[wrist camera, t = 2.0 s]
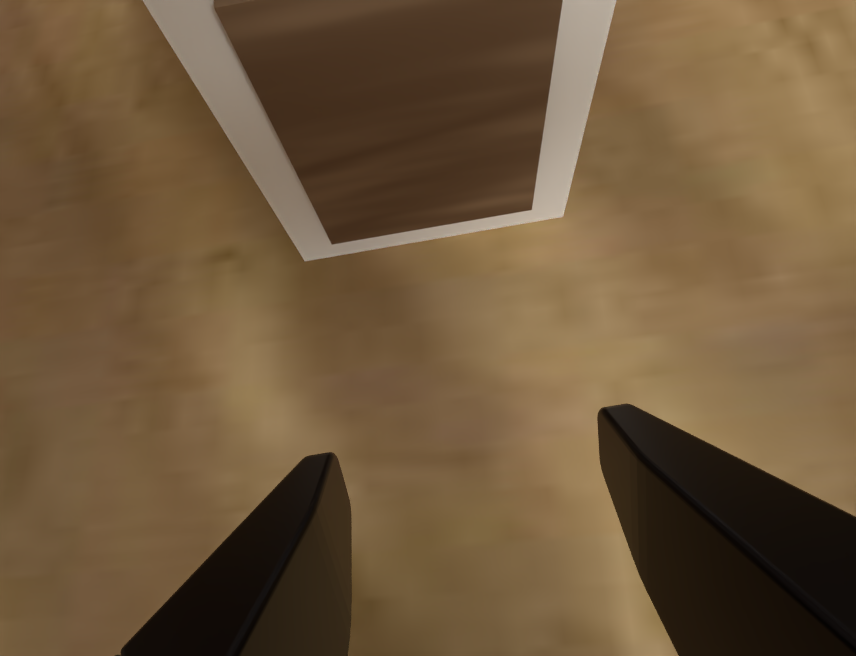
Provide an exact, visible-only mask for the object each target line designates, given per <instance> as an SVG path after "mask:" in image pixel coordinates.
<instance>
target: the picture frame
mask: <svg viewBox="0 0 856 656" xmlns="http://www.w3.org/2000/svg"><path fill="white" fill-rule="evenodd" d="M143 2H144V4H145V5H146V7H147V8H148V10H149V12H150V13H151V15H152V17H153V18H154V20H155V21H156V23H157V25H158V26H159V28H160V29H161V31H162V33H163V34H164V36H165V37H166V39H167V41H168V42H169V44H170V45H171V47H172V49H173V50H174V52H175V54H176V55H177V57H178V58H179V60H180V62H181V63H182V65H183V66H184V68H185V70H186V71H187V73H188V74H189V76H190V78H191V79H192V81H193V82H194V84H195V86H196V87H197V89H198V90H199V92H200V94H201V95H202V97H203V99H204V100H205V102H206V103H207V105H208V107H209V108H210V110H211V111H212V113H213V115H214V116H215V118H216V119H217V121H218V123H219V124H220V126H221V127H222V129H223V131H224V132H225V134H226V135H227V137H228V139H229V140H230V142H231V144H232V145H233V147H234V148H235V150H236V152H237V153H238V155H239V156H240V158H241V160H242V161H243V163H244V164H245V166H246V168H247V169H248V171H249V172H250V174H251V176H252V177H253V179H254V180H255V182H256V184H257V185H258V187H259V189H260V190H261V192H262V193H263V195H264V197H265V198H266V200H267V201H268V203H269V205H270V206H271V208H272V209H273V211H274V213H275V214H276V216H277V217H278V219H279V221H280V222H281V224H282V225H283V227H284V229H285V230H286V232H287V234H288V235H289V237H290V238H291V240H292V242H293V243H294V245H295V246H296V248H297V250H298V251H299V253H300V254H301V256H302V258H303V259H304V261H310V260H316V259H322V258H328V257H333V256H339V255H345V254H351V253H356V252H362V251H368V250H374V249H380V248H385V247H391V246H397V245H403V244H408V243H414V242H420V241H426V240H432V239H437V238H443V237H449V236H455V235H460V234H466V233H472V232H478V231H484V230H489V229H495V228H501V227H507V226H512V225H518V224H524V223H530V222H536V221H541V220H547V219H553V218H559V217H563V215H564V211H565V207H566V203H567V199H568V195H569V190H570V186H571V182H572V178H573V174H574V170H575V166H576V162H577V158H578V154H579V150H580V146H581V142H582V138H583V134H584V130H585V125H586V121H587V117H588V113H589V109H590V105H591V101H592V97H593V93H594V89H595V85H596V81H597V77H598V73H599V69H600V64H601V60H602V56H603V52H604V48H605V44H606V40H607V36H608V32H609V28H610V24H611V20H612V16H613V12H614V8H615V3H616V0H143Z"/></svg>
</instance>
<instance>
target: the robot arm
mask: <svg viewBox="0 0 856 656" xmlns="http://www.w3.org/2000/svg"><path fill="white" fill-rule="evenodd" d="M598 437H599V456H600V464H601V469H602V472H603V476H604V479H605V481H606V484H607V487H608V490H609V493H610V495H611V498H612V501H613V504H614V507H615V509H616V512H617V515H618V518H619V521H620V523H621V526H622V529H623V532H624V535H625V537H626V540H627V543H628V546H629V549H630V551H631V554H632V557H633V560H634V562H635V565H636V567H637V570H638V573H639V575H640V578H641V580H642V582H643V584H644V586H645V588H646V591H647V593H648V595H649V597H650V599H651V601H652V603H653V605H654V607H655V609H656V611H657V613H658V615H659V617H660V619H661V621H662V623H663V625H664V627H665V629H666V631H667V633H668V635H669V637H670V639H671V641H672V643H673V645H674V647H675V649H676V651H677V653H678V655H679V656H856V517H855V516H853V515H851V514H849V513H847V512H845V511H843V510H841V509H839V508H837V507H835V506H833V505H831V504H829V503H827V502H825V501H823V500H821V499H819V498H817V497H815V496H813V495H811V494H809V493H807V492H805V491H803V490H801V489H799V488H797V487H795V486H793V485H791V484H789V483H787V482H785V481H783V480H781V479H779V478H777V477H775V476H773V475H771V474H769V473H767V472H765V471H763V470H761V469H759V468H757V467H755V466H753V465H751V464H749V463H747V462H745V461H743V460H741V459H739V458H737V457H735V456H733V455H731V454H729V453H727V452H725V451H723V450H721V449H719V448H717V447H715V446H713V445H711V444H709V443H707V442H705V441H703V440H701V439H699V438H697V437H695V436H693V435H691V434H689V433H687V432H685V431H683V430H681V429H679V428H677V427H675V426H673V425H671V424H669V423H667V422H665V421H663V420H661V419H659V418H657V417H655V416H653V415H651V414H649V413H647V412H645V411H643V410H641V409H639V408H637V407H635V406H633V405H631V404H621V405H615V406H609V407H603V408H601V409H600V410H599V412H598ZM351 603H352V578H351V506H350V500H349V496H348V493H347V489H346V486H345V482H344V478H343V475H342V471H341V468H340V464H339V461H338V458H337V456H336V455H335V454H334V453H332V452H329V453H323V454H317V455H310V456H306V457H305V458H303V459H302V460H301V461H300V462H299V463H298V464H297V465H296V466H295V467H294V468H293V470H292V471H291V472H290V473H289V474H288V475H287V476H286V477H285V478H284V479H283V480H282V481H281V482H280V483H279V484H278V485H277V486H276V487H275V488H274V489H273V490H272V492H271V493H270V494H269V495H268V496H267V497H266V498H265V499H264V500H263V501H262V502H261V503H260V504H259V505H258V506H257V507H256V508H255V509H254V510H253V511H252V513H251V514H250V515H249V516H248V517H247V518H246V519H245V520H244V521H243V522H242V523H241V524H240V525H239V526H238V527H237V528H236V529H235V530H234V531H233V532H232V533H231V535H230V536H229V537H228V538H227V539H226V540H225V541H224V542H223V543H222V544H221V545H220V546H219V547H218V548H217V549H216V550H215V551H214V552H213V553H212V554H211V555H210V557H209V558H208V559H207V560H206V561H205V562H204V563H203V564H202V565H201V566H200V567H199V568H198V569H197V570H196V571H195V572H194V573H193V574H192V575H191V576H190V577H189V579H188V580H187V581H186V582H185V583H184V584H183V585H182V586H181V587H180V588H179V589H178V590H177V591H176V592H175V593H174V594H173V595H172V596H171V597H170V598H169V599H168V601H167V602H166V603H165V604H164V605H163V606H162V607H161V608H160V609H159V610H158V611H157V612H156V613H155V614H154V615H153V616H152V617H151V618H150V619H149V620H148V621H147V623H146V624H145V625H144V626H143V627H142V628H141V629H140V630H139V631H138V632H137V633H136V634H135V635H134V636H133V637H132V638H131V639H130V640H129V641H128V642H127V643H126V645H125V646H124V647H123V648H122V649H121V656H348V648H349V639H350V628H351ZM115 656H120V655H115Z"/></svg>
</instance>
